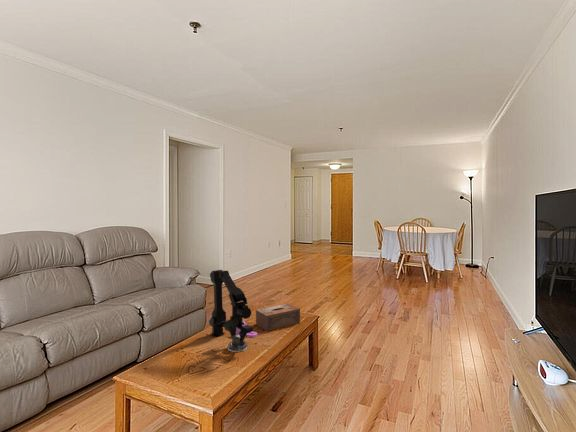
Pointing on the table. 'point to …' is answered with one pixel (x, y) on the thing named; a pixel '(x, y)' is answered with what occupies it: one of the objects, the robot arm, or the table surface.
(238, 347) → the shallow metal dish
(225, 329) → the robot arm
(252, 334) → the bracket
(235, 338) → the cap
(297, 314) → the tissue box cover
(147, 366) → the table surface
